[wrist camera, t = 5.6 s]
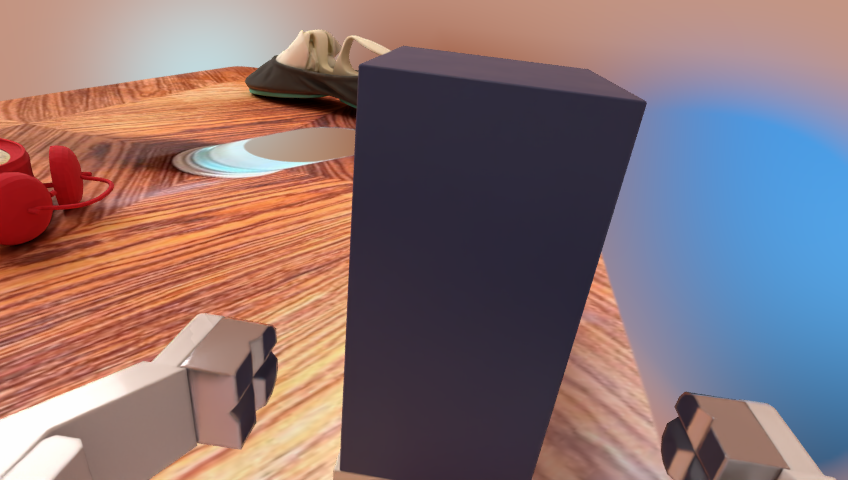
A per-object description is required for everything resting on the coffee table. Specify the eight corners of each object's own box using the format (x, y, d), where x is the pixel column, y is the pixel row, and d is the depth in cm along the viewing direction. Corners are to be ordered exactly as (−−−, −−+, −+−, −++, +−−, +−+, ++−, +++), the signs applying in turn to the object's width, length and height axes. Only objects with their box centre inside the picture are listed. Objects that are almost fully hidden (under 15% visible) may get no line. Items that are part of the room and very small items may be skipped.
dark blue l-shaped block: (521, 534, 16) (658, 102, 10) (331, 500, 16) (348, 62, 10) (503, 286, 30) (554, 48, 24) (403, 270, 31) (428, 32, 24)
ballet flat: (273, 87, 81) (271, 20, 77) (442, 120, 73) (452, 46, 68) (230, 94, 72) (225, 19, 68) (418, 132, 64) (426, 48, 59)
